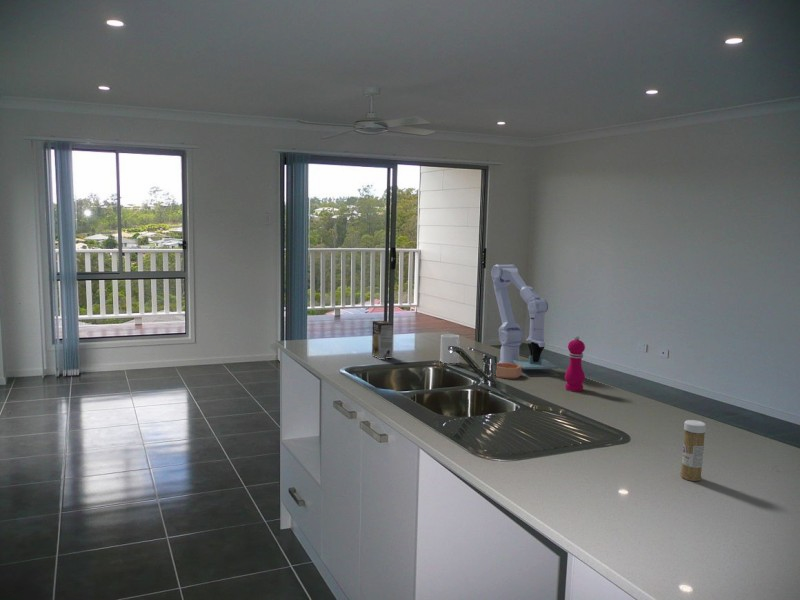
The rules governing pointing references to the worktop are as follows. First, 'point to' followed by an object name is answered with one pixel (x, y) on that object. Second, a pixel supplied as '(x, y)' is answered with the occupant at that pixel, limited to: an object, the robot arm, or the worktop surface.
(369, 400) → the worktop surface
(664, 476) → the worktop surface
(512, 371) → the bowl
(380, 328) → the coffee box
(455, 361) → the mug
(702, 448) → the sprinkles bottle
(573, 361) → the pepper mill
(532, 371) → the mat
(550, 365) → the cover sheet
